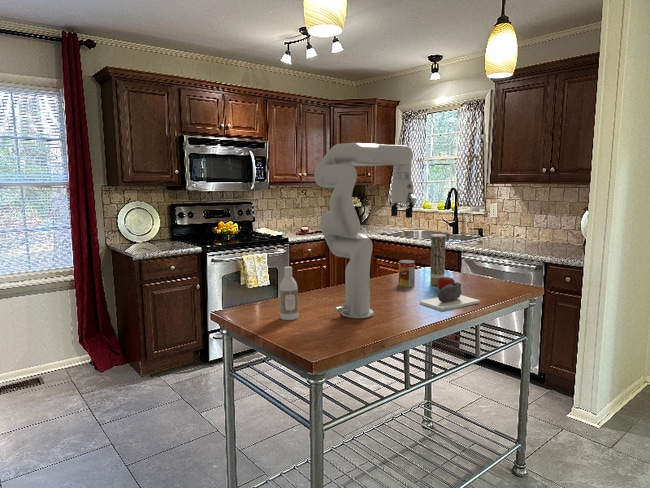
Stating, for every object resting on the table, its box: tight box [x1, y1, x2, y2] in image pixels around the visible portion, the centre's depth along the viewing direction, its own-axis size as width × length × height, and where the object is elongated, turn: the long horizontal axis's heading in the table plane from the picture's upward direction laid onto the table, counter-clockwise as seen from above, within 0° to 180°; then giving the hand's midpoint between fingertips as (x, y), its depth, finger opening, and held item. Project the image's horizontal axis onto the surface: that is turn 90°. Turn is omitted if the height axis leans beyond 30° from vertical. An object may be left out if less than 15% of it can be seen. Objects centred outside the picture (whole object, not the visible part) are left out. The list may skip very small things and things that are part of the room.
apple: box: [437, 276, 456, 291], centre depth 212 cm, size 8×8×8 cm
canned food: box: [398, 259, 416, 288], centre depth 228 cm, size 8×8×12 cm
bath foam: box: [278, 266, 299, 321], centre depth 175 cm, size 7×7×20 cm
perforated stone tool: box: [437, 281, 462, 302], centre depth 194 cm, size 15×5×7 cm, turn 129°
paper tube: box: [429, 233, 447, 287], centre depth 227 cm, size 7×7×25 cm
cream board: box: [419, 294, 481, 312], centre depth 195 cm, size 22×13×1 cm, turn 121°
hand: (401, 216), depth 199 cm, fingers open, 9 cm apart
